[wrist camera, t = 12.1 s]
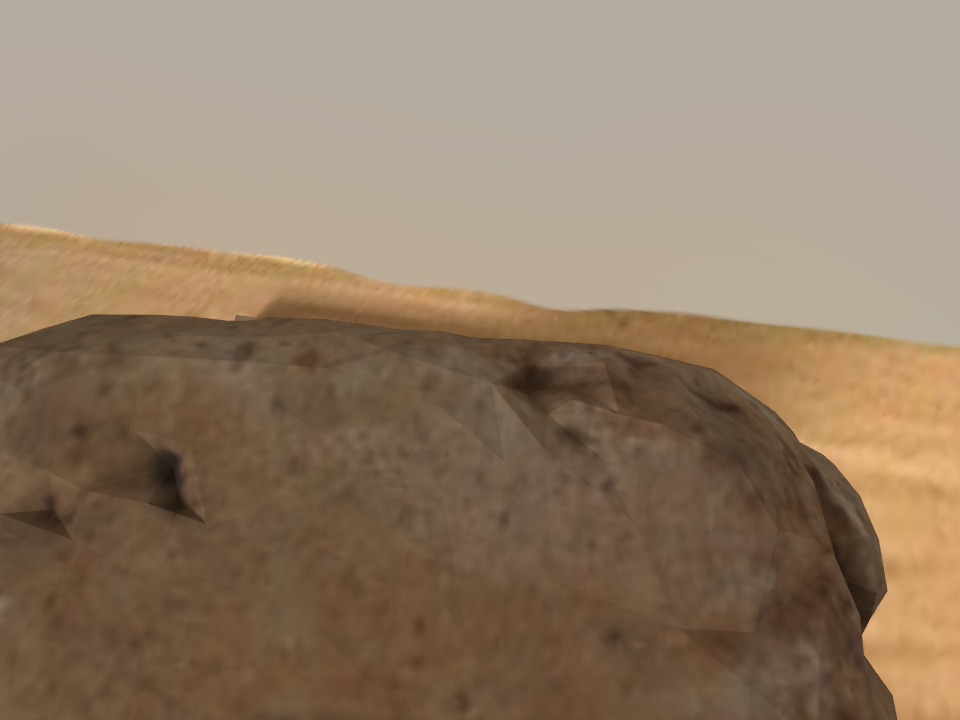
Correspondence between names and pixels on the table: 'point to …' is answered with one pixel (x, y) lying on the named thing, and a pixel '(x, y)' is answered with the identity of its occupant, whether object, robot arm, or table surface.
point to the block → (414, 532)
